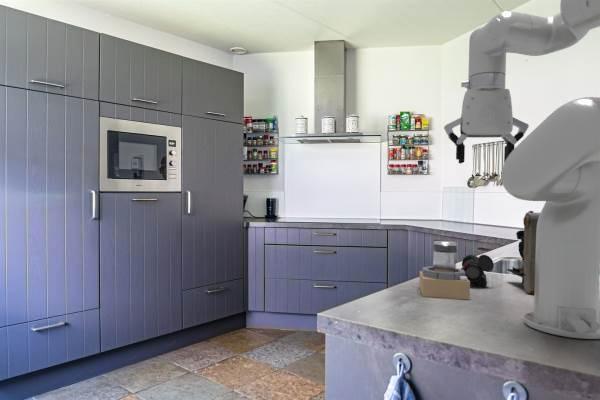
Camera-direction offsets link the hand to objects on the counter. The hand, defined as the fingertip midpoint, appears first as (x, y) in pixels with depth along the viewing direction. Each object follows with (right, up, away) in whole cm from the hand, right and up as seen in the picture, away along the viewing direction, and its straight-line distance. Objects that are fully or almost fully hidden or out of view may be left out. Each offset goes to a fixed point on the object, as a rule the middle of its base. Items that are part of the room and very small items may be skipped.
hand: (484, 163), depth 93 cm
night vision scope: (+5, -31, +19) cm, 37 cm away
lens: (-7, -26, +6) cm, 28 cm away
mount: (-7, -30, +6) cm, 31 cm away
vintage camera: (+18, -31, +13) cm, 38 cm away
